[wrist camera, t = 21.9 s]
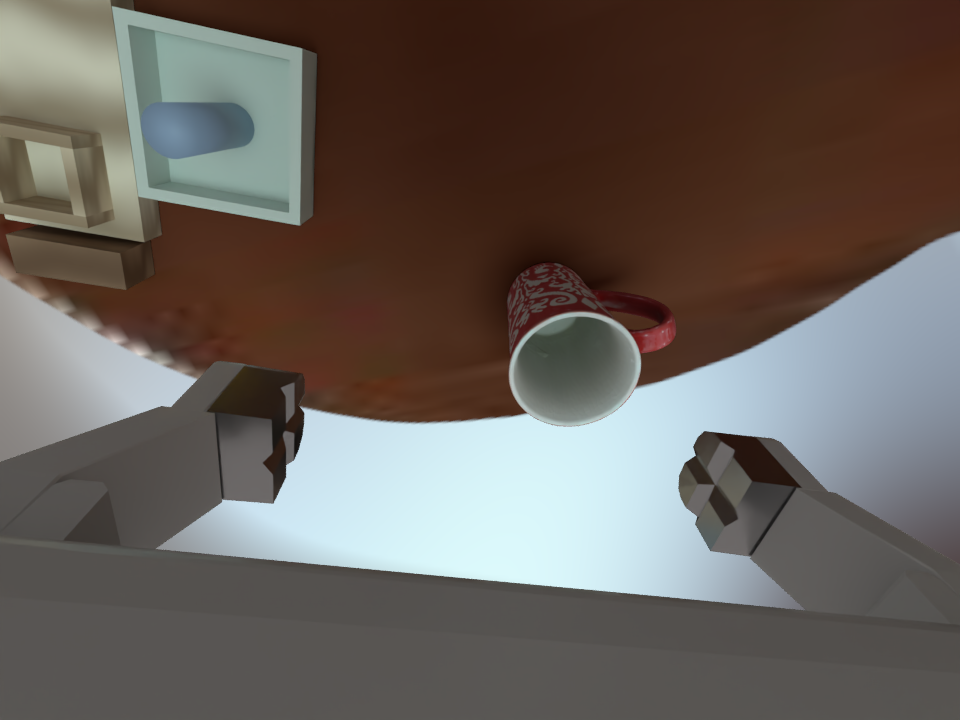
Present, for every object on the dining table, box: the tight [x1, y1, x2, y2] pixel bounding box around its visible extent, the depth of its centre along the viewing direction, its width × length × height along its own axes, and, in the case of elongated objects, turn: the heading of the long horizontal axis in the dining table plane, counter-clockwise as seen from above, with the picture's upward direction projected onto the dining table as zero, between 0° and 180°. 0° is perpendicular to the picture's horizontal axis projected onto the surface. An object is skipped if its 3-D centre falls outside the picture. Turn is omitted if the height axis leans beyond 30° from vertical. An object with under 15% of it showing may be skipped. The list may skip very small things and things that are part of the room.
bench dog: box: [6, 225, 155, 290], centre depth 38 cm, size 3×8×4 cm, turn 79°
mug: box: [507, 263, 676, 426], centre depth 38 cm, size 13×9×14 cm
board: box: [0, 0, 162, 242], centre depth 33 cm, size 18×10×6 cm, turn 169°
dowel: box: [141, 102, 254, 159], centre depth 32 cm, size 3×3×9 cm
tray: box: [112, 6, 317, 225], centre depth 34 cm, size 12×12×4 cm
